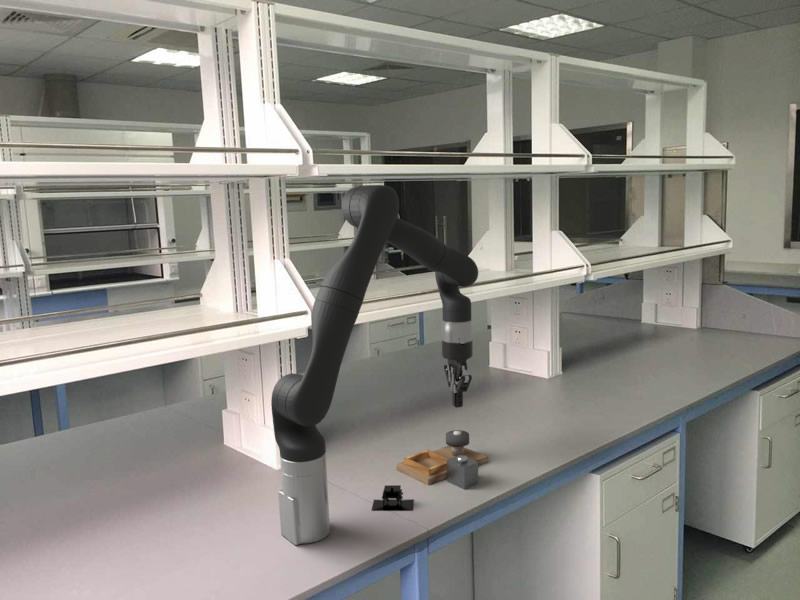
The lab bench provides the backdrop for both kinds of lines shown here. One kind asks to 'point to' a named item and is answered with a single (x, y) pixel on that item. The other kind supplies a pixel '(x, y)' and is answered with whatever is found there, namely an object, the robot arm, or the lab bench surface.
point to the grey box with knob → (462, 471)
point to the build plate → (393, 500)
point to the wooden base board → (435, 463)
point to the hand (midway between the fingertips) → (457, 406)
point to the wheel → (457, 438)
